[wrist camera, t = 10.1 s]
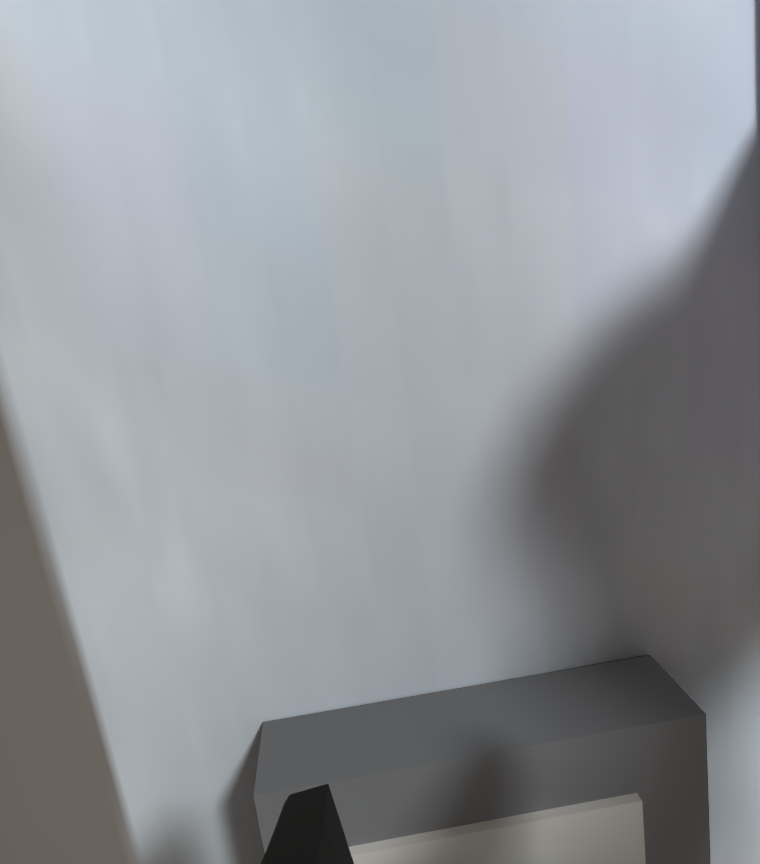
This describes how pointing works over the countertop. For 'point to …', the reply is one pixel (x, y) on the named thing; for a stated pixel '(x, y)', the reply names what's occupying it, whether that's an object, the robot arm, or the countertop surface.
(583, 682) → the charcoal plinth
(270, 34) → the countertop surface
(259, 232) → the countertop surface
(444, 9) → the countertop surface
